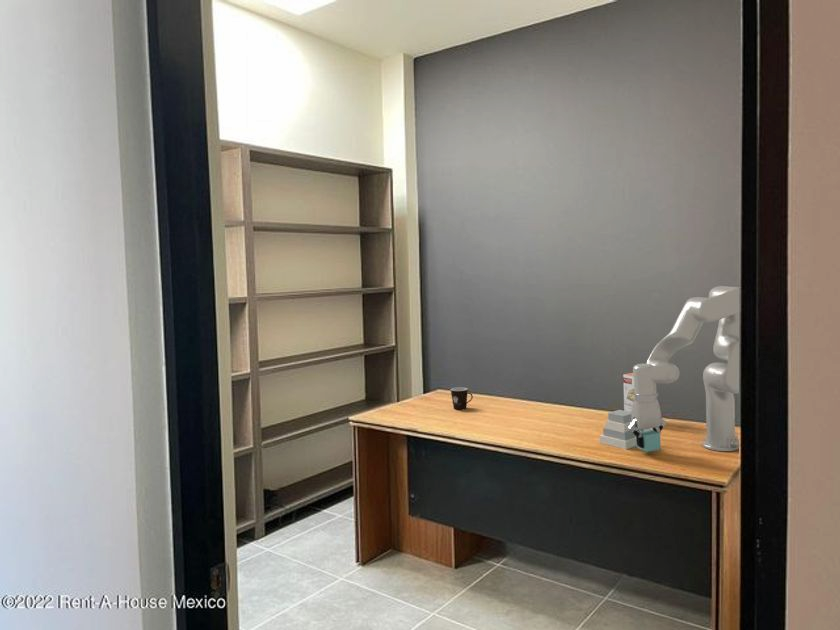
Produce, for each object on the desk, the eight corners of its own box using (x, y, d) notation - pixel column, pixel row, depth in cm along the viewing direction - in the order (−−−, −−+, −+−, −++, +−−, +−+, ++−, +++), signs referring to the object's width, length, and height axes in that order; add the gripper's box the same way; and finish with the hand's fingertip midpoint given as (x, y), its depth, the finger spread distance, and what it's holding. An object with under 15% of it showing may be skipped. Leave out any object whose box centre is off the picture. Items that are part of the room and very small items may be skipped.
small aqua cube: (650, 444, 226) (649, 429, 225) (660, 449, 220) (659, 433, 219) (636, 447, 224) (635, 431, 224) (646, 451, 218) (645, 435, 218)
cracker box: (623, 420, 268) (622, 373, 266) (634, 418, 270) (632, 372, 268) (647, 427, 255) (646, 378, 253) (657, 425, 258) (656, 377, 256)
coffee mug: (448, 408, 307) (447, 388, 307) (463, 405, 311) (462, 386, 310) (459, 412, 297) (458, 392, 296) (474, 410, 301) (473, 390, 300)
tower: (644, 442, 235) (644, 412, 234) (625, 449, 228) (624, 418, 227) (618, 436, 245) (618, 407, 244) (599, 442, 238) (598, 413, 237)
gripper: (659, 392, 226) (661, 438, 228) (618, 399, 222) (622, 446, 223) (672, 396, 219) (675, 444, 220) (631, 403, 214) (634, 452, 216)
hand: (648, 445), depth 222 cm, fingers closed on small aqua cube, 6 cm apart
